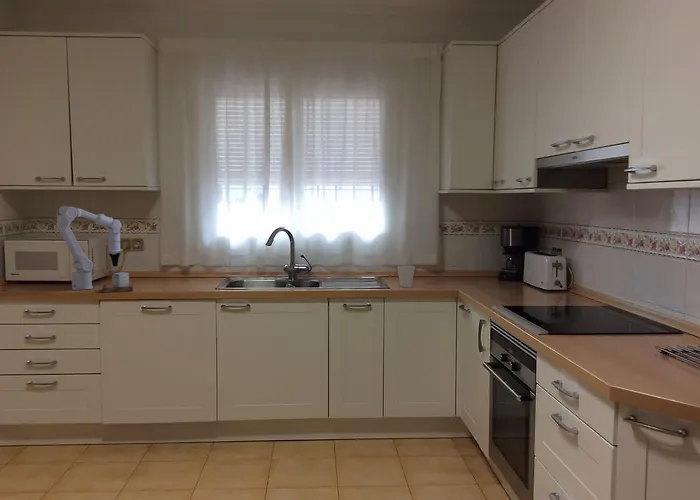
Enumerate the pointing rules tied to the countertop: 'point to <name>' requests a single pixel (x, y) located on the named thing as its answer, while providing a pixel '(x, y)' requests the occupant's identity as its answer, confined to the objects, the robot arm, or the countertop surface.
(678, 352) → the countertop surface
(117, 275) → the medicine box
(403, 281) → the cup
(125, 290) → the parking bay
